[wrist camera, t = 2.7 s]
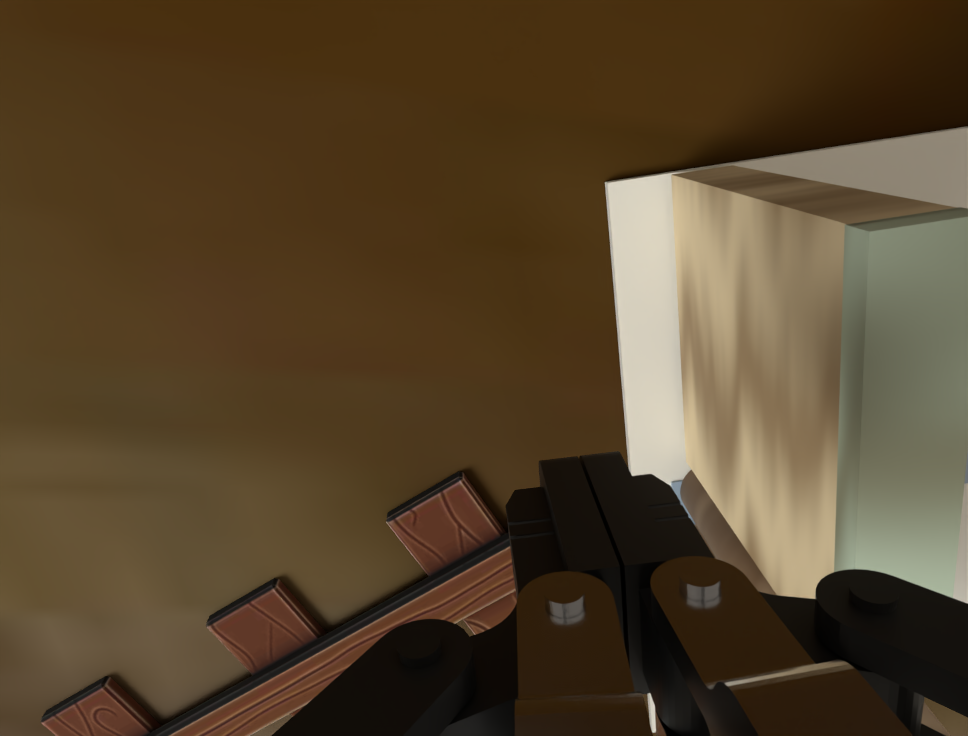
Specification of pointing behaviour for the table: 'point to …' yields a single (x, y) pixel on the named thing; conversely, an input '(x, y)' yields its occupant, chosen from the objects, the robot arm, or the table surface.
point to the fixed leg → (740, 551)
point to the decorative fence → (302, 641)
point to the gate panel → (825, 372)
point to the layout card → (653, 283)
